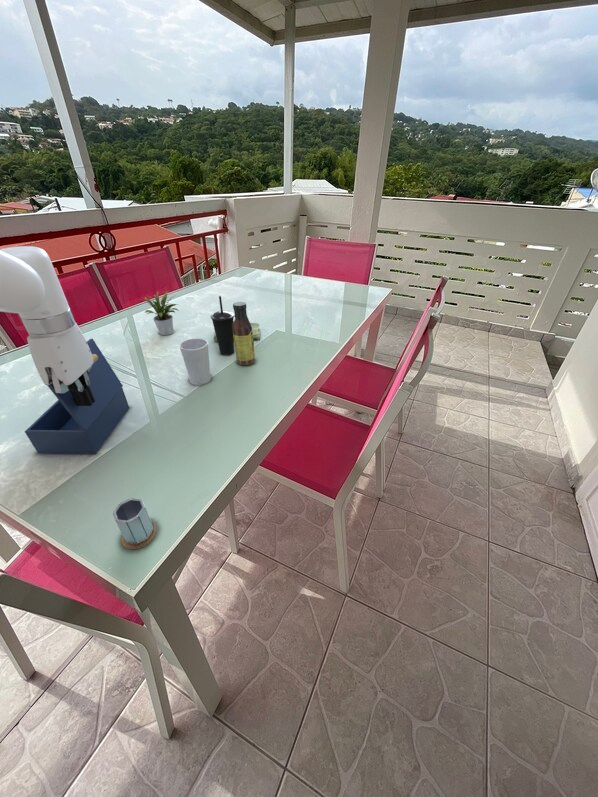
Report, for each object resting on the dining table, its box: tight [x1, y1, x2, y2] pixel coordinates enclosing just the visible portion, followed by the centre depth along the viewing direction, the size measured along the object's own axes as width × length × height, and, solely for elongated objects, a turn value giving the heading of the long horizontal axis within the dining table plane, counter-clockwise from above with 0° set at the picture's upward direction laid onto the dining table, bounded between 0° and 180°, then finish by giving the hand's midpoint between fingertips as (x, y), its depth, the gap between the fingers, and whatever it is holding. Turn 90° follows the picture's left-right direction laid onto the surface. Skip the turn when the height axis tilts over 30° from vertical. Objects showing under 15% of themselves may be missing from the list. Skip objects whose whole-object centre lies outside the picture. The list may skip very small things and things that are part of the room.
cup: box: [178, 337, 212, 386], centre depth 98 cm, size 8×8×12 cm
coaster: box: [120, 520, 157, 551], centre depth 58 cm, size 6×6×1 cm
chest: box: [24, 387, 130, 455], centre depth 80 cm, size 13×18×7 cm
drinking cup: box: [210, 295, 235, 356], centre depth 111 cm, size 8×8×20 cm
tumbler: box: [112, 497, 153, 545], centre depth 56 cm, size 5×5×6 cm
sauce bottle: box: [232, 301, 256, 366], centre depth 106 cm, size 6×6×20 cm
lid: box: [46, 338, 124, 431], centre depth 74 cm, size 14×18×4 cm
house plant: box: [139, 290, 179, 336], centre depth 125 cm, size 14×14×16 cm
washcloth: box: [213, 322, 261, 342], centre depth 128 cm, size 13×18×3 cm
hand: (86, 403), depth 70 cm, fingers closed
